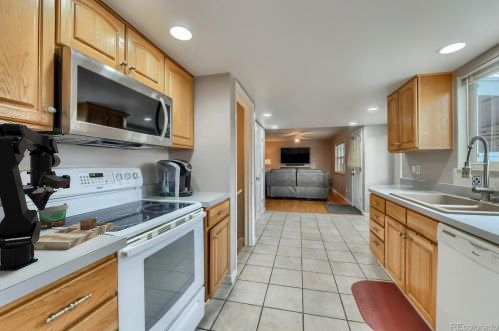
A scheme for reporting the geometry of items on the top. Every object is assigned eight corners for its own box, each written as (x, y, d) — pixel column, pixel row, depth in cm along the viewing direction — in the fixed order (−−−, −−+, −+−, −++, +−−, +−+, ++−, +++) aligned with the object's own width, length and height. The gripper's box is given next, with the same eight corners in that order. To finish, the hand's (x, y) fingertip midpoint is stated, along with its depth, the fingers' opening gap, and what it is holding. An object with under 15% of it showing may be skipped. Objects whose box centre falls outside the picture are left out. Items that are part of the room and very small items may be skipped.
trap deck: (68, 249, 76) (68, 240, 75) (24, 248, 76) (24, 240, 76) (113, 228, 99) (113, 222, 99) (79, 227, 100) (79, 221, 100)
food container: (47, 230, 95) (47, 208, 95) (36, 229, 97) (36, 207, 97) (74, 223, 108) (74, 203, 107) (65, 222, 109) (65, 202, 109)
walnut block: (89, 230, 89) (89, 220, 89) (80, 230, 89) (80, 220, 89) (96, 227, 93) (96, 218, 93) (87, 227, 93) (87, 218, 93)
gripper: (36, 169, 69) (36, 217, 69) (82, 168, 88) (83, 205, 88) (3, 169, 69) (3, 216, 69) (56, 167, 88) (56, 205, 88)
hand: (41, 210), depth 79 cm, fingers closed
